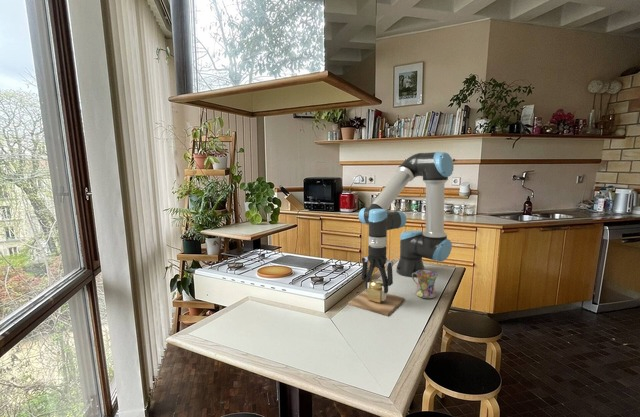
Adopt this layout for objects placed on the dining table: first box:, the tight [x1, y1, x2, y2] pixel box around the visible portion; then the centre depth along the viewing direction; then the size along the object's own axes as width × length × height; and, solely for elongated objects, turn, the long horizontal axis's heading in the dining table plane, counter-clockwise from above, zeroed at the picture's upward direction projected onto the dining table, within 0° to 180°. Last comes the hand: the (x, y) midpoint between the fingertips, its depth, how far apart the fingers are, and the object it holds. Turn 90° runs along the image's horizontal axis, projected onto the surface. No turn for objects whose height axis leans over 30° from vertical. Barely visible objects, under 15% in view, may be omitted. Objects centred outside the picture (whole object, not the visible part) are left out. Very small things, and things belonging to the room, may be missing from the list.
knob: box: [367, 278, 384, 303], centre depth 132 cm, size 6×6×8 cm
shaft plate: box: [347, 288, 405, 317], centre depth 132 cm, size 18×18×5 cm
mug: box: [411, 269, 438, 299], centre depth 139 cm, size 12×9×11 cm
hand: (376, 297), depth 132 cm, fingers closed on knob, 6 cm apart
